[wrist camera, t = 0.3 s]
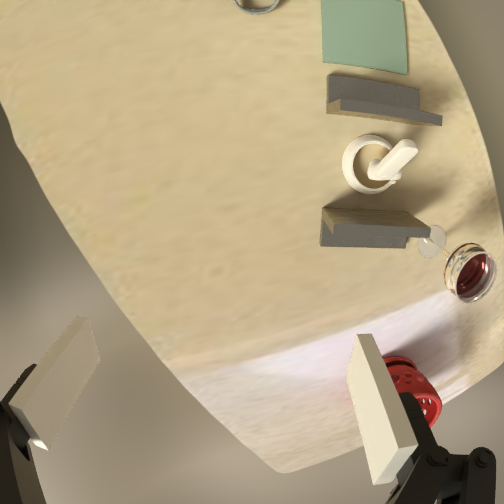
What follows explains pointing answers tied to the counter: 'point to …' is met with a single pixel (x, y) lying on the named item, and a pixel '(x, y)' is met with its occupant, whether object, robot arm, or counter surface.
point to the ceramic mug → (256, 11)
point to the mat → (365, 34)
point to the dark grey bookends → (384, 108)
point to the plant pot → (414, 386)
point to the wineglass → (462, 266)
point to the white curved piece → (378, 162)
